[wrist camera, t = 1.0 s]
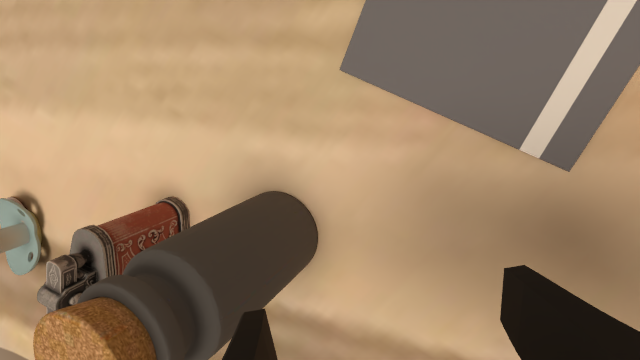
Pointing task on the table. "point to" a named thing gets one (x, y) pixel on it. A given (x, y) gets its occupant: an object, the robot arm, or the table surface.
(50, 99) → the table surface
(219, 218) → the bottle
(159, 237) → the lighter
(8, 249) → the pacifier
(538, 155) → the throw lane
